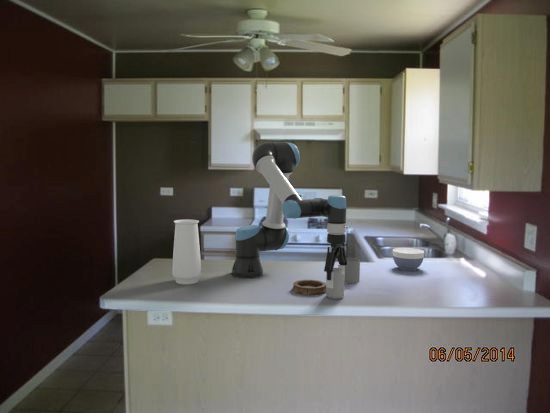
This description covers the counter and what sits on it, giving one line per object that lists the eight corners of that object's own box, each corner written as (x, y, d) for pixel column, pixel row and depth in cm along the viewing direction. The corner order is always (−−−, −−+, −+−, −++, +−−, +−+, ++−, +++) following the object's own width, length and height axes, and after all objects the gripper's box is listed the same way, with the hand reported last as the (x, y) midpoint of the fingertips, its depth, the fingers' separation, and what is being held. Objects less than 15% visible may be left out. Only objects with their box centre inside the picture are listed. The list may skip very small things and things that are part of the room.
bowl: (427, 267, 274) (428, 249, 273) (418, 273, 261) (418, 255, 260) (397, 263, 283) (398, 246, 282) (387, 269, 270) (388, 251, 268)
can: (324, 294, 223) (324, 266, 221) (341, 294, 223) (342, 266, 222) (327, 299, 215) (328, 271, 214) (345, 299, 216) (346, 271, 215)
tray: (286, 292, 225) (286, 285, 225) (301, 284, 239) (301, 277, 238) (319, 297, 219) (319, 290, 218) (332, 288, 232) (332, 282, 232)
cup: (358, 283, 241) (359, 262, 240) (340, 282, 243) (341, 261, 242) (359, 279, 250) (360, 258, 249) (342, 278, 251) (342, 257, 250)
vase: (205, 283, 239) (205, 222, 235) (178, 286, 232) (177, 224, 229) (194, 276, 250) (194, 218, 246) (168, 280, 243) (167, 220, 240)
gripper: (334, 238, 203) (333, 292, 206) (354, 229, 226) (353, 278, 228) (316, 236, 207) (315, 289, 209) (338, 228, 229) (337, 276, 231)
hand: (335, 283), depth 218 cm, fingers open, 13 cm apart
